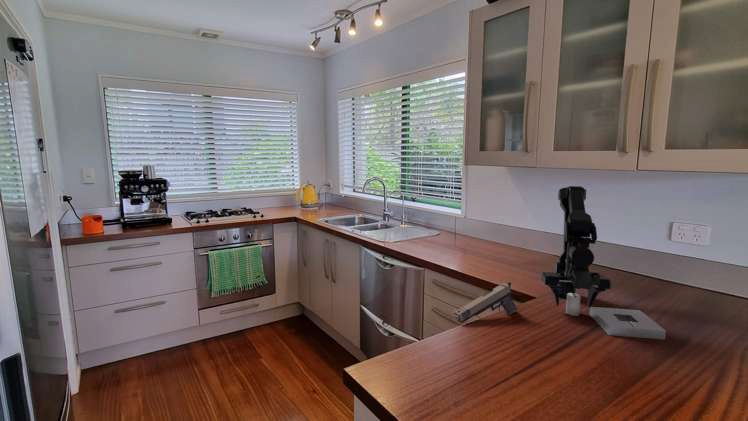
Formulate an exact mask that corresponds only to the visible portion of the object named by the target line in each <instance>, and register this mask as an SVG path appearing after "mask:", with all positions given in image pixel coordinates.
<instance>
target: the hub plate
mask: <svg viewBox="0 0 748 421" xmlns="http://www.w3.org/2000/svg"><path fill="white" fill-rule="evenodd" d="M589 316H590V317H591V318H592V319H593V320H594V321H595V322H596V323H597V324H598V326H600V327H601V328H602V329H603V331H604V332H605V333H606V334H607V335H608V336H615V337H616V336H617V337H626V338H627V337H629V338H641V339H653V340H666V334H667V330H666V329H664V328H663V327H662V326H660V325H659V324H658V323H657V322H655V321H654V320H653V319H652V318H650V317H649V316H648V315H647V314H646V313H644V312H643V311H642V310H639V309H625V308H616V307H615V308H613V307H599V306H597V307H596V306H591V307H590V308H589Z"/></svg>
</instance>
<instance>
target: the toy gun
mask: <svg viewBox="0 0 748 421" xmlns="http://www.w3.org/2000/svg"><path fill="white" fill-rule="evenodd" d="M511 285H512V282H510V281H509V282H508V283H505V282H502V283H500V284H499V285H498V286H496V287H494V288H492V290H491V291H489V292H488V293H487V292H486V294H484V295H480V296H479V297H477V298H475V299H473V300H472V301H470V302H468V303H467V304H465V305H463V306H462V307H460V308H458V309H457V310H454V317H455V320H457V321H458V322H459V323H460V324H462V323H463V324H464V322H467V321H468V320H469V319H471V318H473V317H474V316H479V315H480V314H481V313H483V312H485V311H487V310H489V309H490V310H491V311H493V312H494V311H495V310H496V309H498V308H500V307H501V306H502V308H503V309H504V311H505V313H506V314H508V315H512V314H513V313H515V312H517V311H518V310H519V308H518V307H517V305H516V304H515V302H514V300H513V299H512V294H513V293H512V290H511ZM496 304H497V305H496Z"/></svg>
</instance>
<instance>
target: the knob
mask: <svg viewBox="0 0 748 421" xmlns="http://www.w3.org/2000/svg"><path fill="white" fill-rule="evenodd" d="M581 296H582V295H580V294H578V293H576V294H575V293H568V294H567V298H566V304H565V314H567V315H569V316H573V317H576V316H580V311H581V310H580V309H581V308H580V306H581V299H582V298H581Z"/></svg>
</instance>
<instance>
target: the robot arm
mask: <svg viewBox="0 0 748 421" xmlns="http://www.w3.org/2000/svg"><path fill="white" fill-rule="evenodd" d="M557 199H558V201H559V206H560V208H561V209H562V211H563V212H564V213H563V215H564V216H563V245H562V246H563V247H562V251H563V252H562V253H561V254H560V256H559V257H558V258H557V261H556V263H555V267H554V271H552V272H551V271H543V272H542V273H541V277H540V281H542V283H543V284H544V285H545V286H547V287H548V288H550V290H551V292H552V295H553V296H552V297H553V298H554V302H555V305H556V306H557V307H558V306H559V305H560V298H561V299H567V294H568V293H575V294H577V290H582V289H583V290H588V291H587V302H586V303H587V308H589V309H590V307H592V305H593V304H594V301H595V300H596V298H597V297H598V295H599V294H600V293H602V292H606V291H607V290H611V289H612V280H610V279H609V278H608V277H607V276H605V275H604V274H600V273H599V272H592V271H590V270H589V268H590V266H591V265H592V264H593V262H594V260H595V255H594V253H593V251H592V250H591V249H590V244H592V245H595V244H596V241H597V240H598V235H597V226H596V223H594V222H593V219H592V216H591V215H590V214H588V213H587V211H586V208H585V206H586V205H585V201H586V199H587V188H586V189H585V188H584V186H578V185H577V186H576V185H569V186H566V187H562V188H559V190H558V194H557Z"/></svg>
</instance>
